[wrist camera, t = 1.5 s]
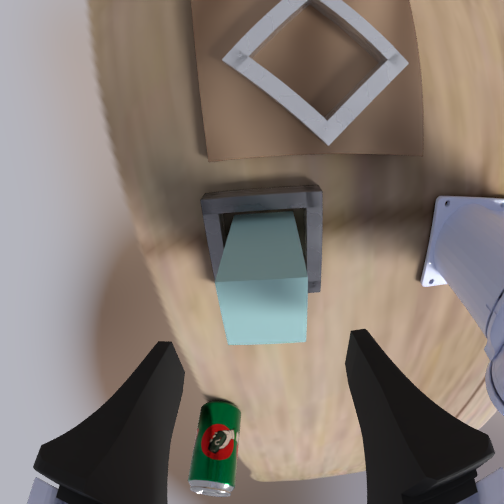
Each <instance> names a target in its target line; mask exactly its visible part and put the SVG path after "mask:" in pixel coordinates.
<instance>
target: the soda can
mask: <svg viewBox="0 0 504 504" xmlns="http://www.w3.org/2000/svg"><path fill="white" fill-rule="evenodd" d="M240 422H241V412H240V410H239V409H238V408H237V407H236V406H235V405H233V404H231V403H229V402H225V401H210V402H208V403H206V404H204V405H203V406H202V407H201V412H200V417H199V423H198V428H197V433H196V439H195V444H194V450H193V456H192V461H191V466H190V472H189V478H188V482H189V484H190V486H191V488H190V490H191V491H193V492H196V493H199V494H204V495H210V496H219V497H225V496H230V495H231V494H230V492H231V491H232V490H233V489H234V488H235V478H236V468H237V456H238V445H239V434H240Z"/></svg>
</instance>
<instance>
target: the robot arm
mask: <svg viewBox="0 0 504 504" xmlns="http://www.w3.org/2000/svg"><path fill="white" fill-rule="evenodd" d="M446 201H448V202H447V204H446V205H445V202H446ZM431 279H432V280H431ZM430 280H431V281H430ZM421 284H422V286H424V287H427V286H435V285H442V284H448V285H449V286H450V287H451V289H452V290H453V291H454V292H455V294H456V295H457V296H458V298H459V299H460V300H461V302H462V303H463V304H464V306H465V307H466V309H467V310H468V311H469V313H470V314H471V316H472V317H473V318H474V320H475V321H476V323H477V324H478V326H479V327H480V329H481V330H482V332H483V333H484V335H485V336H486V338H487V340H488V341H487V344H486V346H485V348H484V351H485V352H486V354H487V356H488V357H489V359H490V362H489V364H488V366H487V369H486V375H485V382H486V388H487V392H488V395H489V397H490V399H491V401H492V403H493V405H494V406H495V407H496V409H497V410H498V411H499V412H500V413H501V414H502V415H503V416H504V199H502V198H486V197H464V196H439V197H438V198H437V199H436V202H435V210H434V216H433V223H432V229H431V235H430V240H429V245H428V250H427V255H426V260H425V264H424V269H423V273H422V277H421ZM345 366H346V372H347V378H348V384H349V388H350V391H351V395H352V399H353V402H354V406H355V409H356V413H357V416H358V420H359V424H360V428H361V432H362V437H363V444H364V452H365V462H366V473H367V504H504V470H503V468H502V467H500V468H499V469H497V470H496V471H494V472H492V473H491V474H489V475H488V476H486V477H485V478H483V479H481V480H479V481H477V482H476V483H475V479H474V478H475V477H477V471H476V469H477V468H478V467H480V466H481V465H483V464H484V463H485V462H487V461H488V460H489V459H491V458H492V457H493V456H494V454H495V452H494V449H493V446H492V443H491V440H490V438H489V436H488V435H487V434H485V433H483V432H481V431H479V430H477V429H474V428H472V427H470V426H468V425H467V424H465V423H463V422H462V421H460V420H458V419H457V418H455V417H454V416H452V415H451V414H449V413H448V412H446V411H445V410H444V409H442V408H441V407H439V406H438V405H437V404H435V403H434V402H433V401H432V400H431V399H429V398H428V397H427V396H426V395H425V394H424V393H422V392H421V391H420V390H419V389H418V388H417V387H416V386H415V385H414V384H413V383H412V382H411V381H410V380H409V379H408V378H407V377H406V376H405V375H404V374H403V373H402V372H401V371H400V370H399V368H398V367H397V366H396V365H395V364H394V363H393V362H392V361H391V359H390V358H389V357H388V356H387V355H386V353H385V352H384V351H383V350H382V349H381V347H380V346H379V345H378V344H377V342H376V341H375V340H374V339H373V337H372V336H371V335H370V333H369V332H368V331H367V330H366V329H361V330H353V331H351V333H350V339H349V345H348V350H347V356H346V361H345ZM184 374H185V372H184V369H183V367H182V364H181V362H180V360H179V358H178V355H177V353H176V351H175V348H174V346H173V344H172V342H164V341H158V343H157V344H156V345H155V346H154V347H153V349H152V350H151V351H150V352H149V354H148V355H147V356H146V357H145V359H144V360H143V361H142V362H141V364H140V365H139V366H138V367H137V369H136V370H135V371H134V372H133V373H132V375H131V376H130V377H129V378H128V379H127V380H126V382H125V383H124V384H123V385H122V386H121V387H120V388H119V389H118V390H117V391H116V393H115V394H114V395H113V396H112V397H111V398H110V399H109V400H108V401H107V402H106V403H105V404H103V405H102V406H101V407H100V408H99V409H98V410H97V411H96V412H94V413H93V414H92V415H91V416H89V417H88V418H87V419H85V420H84V421H83V422H81V423H80V424H79V425H77V426H76V427H74V428H73V429H71V430H70V431H68V432H66V433H65V434H63V435H61V436H60V437H57V438H56V439H53V440H51V441H50V442H47V443H45V444H43V445H41V448H40V450H39V453H38V455H37V458H36V461H35V463H34V466H33V468H34V469H35V470H36V471H38V472H39V473H40V474H42V475H44V476H45V477H47V478H49V479H50V480H52V481H54V482H55V483H57V484H59V485H60V486H59V489H57V488H55V487H54V486H52V485H50V484H48V483H46V482H44V481H43V480H41V479H39V478H37V477H36V478H35V480H34V483H33V486H32V489H31V492H30V495H29V499H28V502H27V504H167V476H168V460H169V451H170V442H171V438H172V433H173V429H174V425H175V420H176V417H177V413H178V409H179V405H180V401H181V396H182V392H183V384H184Z"/></svg>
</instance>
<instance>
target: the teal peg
mask: <svg viewBox="0 0 504 504" xmlns="http://www.w3.org/2000/svg"><path fill="white" fill-rule="evenodd" d="M215 285H216V290H217V295H218V300H219V305H220V310H221V314H222V319H223V324H224V328H225V333H226V337H227V342H228V345H251V344H277V343H295V342H306V329H307V299H308V275H307V270H306V266H305V261H304V257H303V252H302V248H301V243H300V239H299V234H298V230H297V226H296V222H295V217H294V213H293V211H284V212H268V213H254V214H240V215H234V217H233V220H232V224H231V227H230V231H229V234H228V237H227V241H226V244H225V248H224V251H223V255H222V258H221V262H220V265H219V269H218V273H217V276H216V280H215Z"/></svg>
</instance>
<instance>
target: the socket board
mask: <svg viewBox="0 0 504 504" xmlns="http://www.w3.org/2000/svg"><path fill="white" fill-rule="evenodd" d="M191 9H192V21H193V32H194V43H195V53H196V63H197V72H198V81H199V90H200V99H201V107H202V115H203V123H204V131H205V139H206V147H207V154H208V162H214V161H223V160H232V159H242V158H254V157H267V156H283V155H304V154H388V155H408V156H423V95H422V80H421V69H420V60H419V52H418V44H417V38H416V32H415V26H414V21H413V16H412V11H411V7H410V2H409V0H191Z"/></svg>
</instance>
